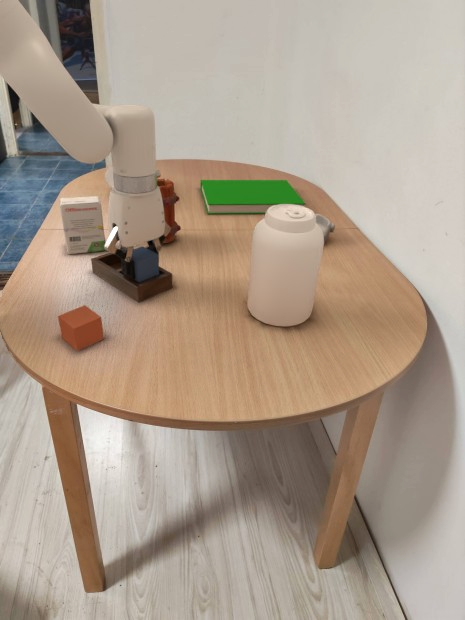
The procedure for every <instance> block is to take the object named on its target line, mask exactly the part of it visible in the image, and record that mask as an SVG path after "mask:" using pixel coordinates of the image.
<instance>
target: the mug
mask: <svg viewBox="0 0 465 620" xmlns="http://www.w3.org/2000/svg"><path fill="white" fill-rule="evenodd" d="M174 184H175V183H174V182H173V181H172V180H170V179H168V178H167V179H166V180H165V178H157V186H158V187H159V188H160V192H161V196H162V201H163V208H164V218H165V222H166V223H167V224H168V225H169V227H170V228H171V231H170V232H169V234H168V235H167V236H166V237H165V240H164V242H163V243H162V244H169V243H172V242H173V241H174V240H175V238H176V234H177V233H178V232H179V231H181V229H182V227H181V226H180V225H179V224H178V222H177V221H176V214H175V213H176V212H175V211H176V209H175V204H176V203H177V202H179V201H180V199H181V198H180V196H178V195H177V193H176V191H175V185H174Z"/></svg>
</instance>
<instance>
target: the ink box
mask: <svg viewBox="0 0 465 620" xmlns="http://www.w3.org/2000/svg"><path fill="white" fill-rule="evenodd" d="M59 209H60V216H61V222H62V228H63V233H64V240H65V245H66V246H65V247H66V252H67V255H75V254H85V253H86V254H87V253H97V252H105V251H107V250H106V249H104V245H105V243H106V238H105V227H104V219H103V209H102V202H101V199H100V197H99V196H98V195H95V196H79V197H60V198H59Z"/></svg>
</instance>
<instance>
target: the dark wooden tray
mask: <svg viewBox="0 0 465 620" xmlns="http://www.w3.org/2000/svg"><path fill="white" fill-rule="evenodd" d="M125 252H126V249H125ZM90 260H91V261H90V262H91V269H92V274H94V275H96V276H97V277H99V278H100V279H102V280H103V281H105V282H107V283H108V284H109V285H110V286H112V287H114V288H116V289H117V290H119V291H121V292H122V293H124V294H125V295H127V296H128V297H130V298H131V299H133V300H134V301H136V302H137V303H140V302H143V301H145V300H148V299H150V298H152V297H155V296H157V295H159V294H161V293H164V292H166V291H168V290H170V289H173V273H172V272H171V271H169V270H167V269H165V268H163V267H161V266H159V275H157V276H155V277H152V278H150V279H147V280H145V281H142V282H137V281H135V280H134V279H133V280H132V279H130V278H128V277H127V276H125V275H124V274H123V273H122V266H121V258H120V257H118V256H117V255H115V254H113V253H111V252H107V253H104V254H101V255H97V256H96V257H92V258H91V259H90Z"/></svg>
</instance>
